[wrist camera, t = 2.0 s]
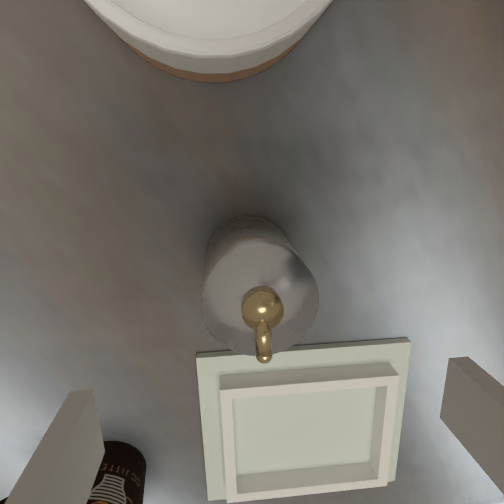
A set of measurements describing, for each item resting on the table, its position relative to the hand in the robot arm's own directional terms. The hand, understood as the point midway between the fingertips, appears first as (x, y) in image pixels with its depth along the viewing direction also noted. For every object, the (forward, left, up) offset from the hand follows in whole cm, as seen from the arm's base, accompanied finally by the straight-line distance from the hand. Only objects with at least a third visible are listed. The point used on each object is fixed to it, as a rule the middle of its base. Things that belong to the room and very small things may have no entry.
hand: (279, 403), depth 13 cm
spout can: (0, 0, -18) cm, 18 cm away
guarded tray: (-5, +17, -18) cm, 25 cm away
